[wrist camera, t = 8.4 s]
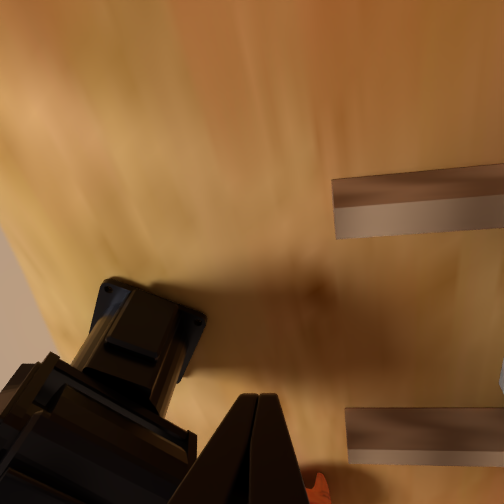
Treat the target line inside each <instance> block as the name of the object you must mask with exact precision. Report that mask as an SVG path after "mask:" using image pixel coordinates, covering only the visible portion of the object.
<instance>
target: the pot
mask: <svg viewBox="0 0 504 504" xmlns="http://www.w3.org/2000/svg"><path fill="white" fill-rule="evenodd" d="M306 492H307V495H308V499H309V502H310V504H332V503H331V499H330V493H329V488H328V485H327V482H326V479H325V477H324V475H323V474H322V473H318V474H317V478H316V482H315V485H314V487H313V488H312V489H308V488H306Z"/></svg>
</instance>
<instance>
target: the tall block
mask: <svg viewBox="0 0 504 504" xmlns="http://www.w3.org/2000/svg"><path fill="white" fill-rule="evenodd" d="M499 385H500V387H501V389H502V391H503V394H504V359H503V364H502V369H501V374H500V380H499Z"/></svg>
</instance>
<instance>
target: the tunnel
mask: <svg viewBox="0 0 504 504" xmlns="http://www.w3.org/2000/svg"><path fill="white" fill-rule="evenodd" d="M331 181H332V198H333V213H334V223H335V234H336V239H349V238H364V237H378V236H393V235H407V234H421V233H436V232H450V231H465V230H479V229H494V228H504V164H495V165H485V166H474V167H463V168H453V169H442V170H431V171H421V172H410V173H399V174H389V175H378V176H367V177H357V178H346V179H335V180H331ZM345 422H346V435H347V448H348V461H349V464H387V465H433V466H478V467H504V408H345Z"/></svg>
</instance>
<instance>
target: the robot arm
mask: <svg viewBox="0 0 504 504" xmlns="http://www.w3.org/2000/svg"><path fill="white" fill-rule="evenodd" d="M108 286H109V287H111V288H112V289H110V288H108ZM196 319H198V320H200V321H197V320H196ZM206 323H207V316H206V315H205V314H203V313H202V312H199V311H196V310H194V309H191V308H188V307H186V306H183V305H180V304H178V303H175V302H172V301H170V300H167V299H164V298H162V297H159V296H156V295H153V294H151V293H148V292H145V291H143V290H140V289H137V288H135V287H132V286H129V285H127V284H124V283H121V282H119V281H116V280H113V279H105V280H104V281H103V283H102V284H101V286H100V289H99V293H98V298H97V302H96V306H95V310H94V314H93V318H92V323H91V327H90V331H89V335H88V337H87V339H86V340H85V342H84V344H83V345H82V347H81V348H80V350H79V352H78V353H77V355H76V356H75V358H74V360H73V361H72V363H71V364H70V365H69V364H68V363H66V362H64V361H62V360H61V359H59V358H60V357H59V356H58V355H56V354H54V353H52V352H50V353H49V354H48V355H47V356H46V358H45V359H44V360H43V362H42V363H40V362H37V363H36V364H21V366H20V367H19V368H18V370H17V371H16V372H15V374H14V375H13V376H12V378H11V379H10V380H9V382H8V383H7V384H6V386H5V387H4V388H3V390H2V391H1V392H0V504H310V502H309V499H308V495H307V492H306V488H305V485H304V482H303V478H302V475H301V472H300V468H299V465H298V462H297V458H296V455H295V452H294V448H293V445H292V442H291V438H290V435H289V432H288V428H287V425H286V422H285V418H284V415H283V411H282V408H281V405H280V401H279V398H278V395H277V394H275V393H262V394H260V395H258V394H256V393H243V394H241V395H239V397H238V398H237V400H236V401H235V403H234V404H233V406H232V407H231V409H230V410H229V412H228V413H227V415H226V416H225V418H224V419H223V421H222V422H221V424H220V425H219V427H218V428H217V430H216V431H215V433H214V434H213V436H212V437H211V439H210V440H209V442H208V443H207V445H206V446H205V448H204V449H203V451H202V452H201V454H200V455H199V457H198V458H197V435H196V434H194V433H193V432H191V431H189V430H187V431H185V430H184V429H182V428H180V427H178V426H177V425H175V424H173V423H171V422H170V421H168V420H166V419H164V418H165V415H166V412H167V409H168V406H169V403H170V400H171V397H172V394H173V391H174V388H175V385H176V384H178V383H179V382H180V381H181V379H182V377H183V375H184V372H185V370H186V368H187V366H188V363H189V361H190V359H191V357H192V355H193V352H194V350H195V348H196V346H197V344H198V341H199V339H200V337H201V335H202V333H203V330H204V328H205V326H206Z"/></svg>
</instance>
